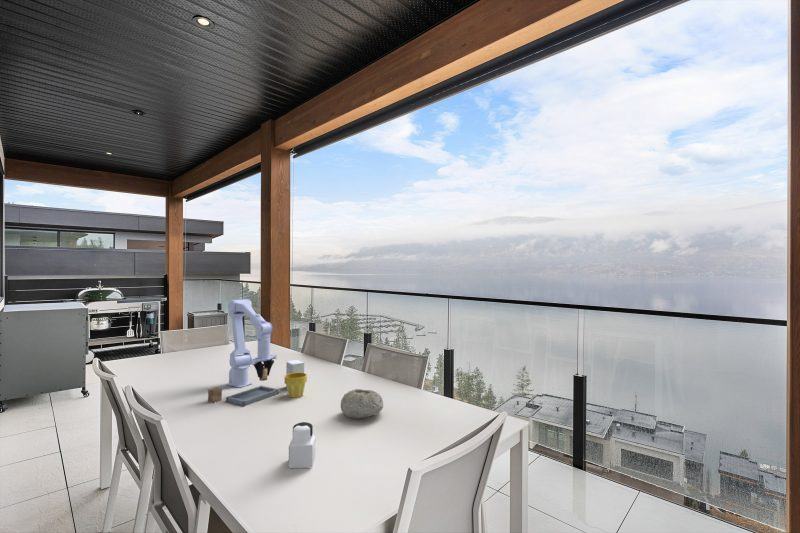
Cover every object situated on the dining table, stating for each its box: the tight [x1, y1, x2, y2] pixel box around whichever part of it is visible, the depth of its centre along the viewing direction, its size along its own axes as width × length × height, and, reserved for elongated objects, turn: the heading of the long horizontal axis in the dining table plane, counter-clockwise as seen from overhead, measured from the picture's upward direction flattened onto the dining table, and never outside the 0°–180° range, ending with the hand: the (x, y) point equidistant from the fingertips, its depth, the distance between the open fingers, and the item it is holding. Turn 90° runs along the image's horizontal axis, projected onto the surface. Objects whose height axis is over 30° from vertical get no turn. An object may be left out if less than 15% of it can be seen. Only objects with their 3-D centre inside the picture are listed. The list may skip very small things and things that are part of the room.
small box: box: [285, 359, 305, 388], centre depth 196 cm, size 8×6×13 cm
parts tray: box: [225, 385, 280, 407], centre depth 180 cm, size 12×20×2 cm, turn 151°
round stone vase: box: [340, 388, 384, 419], centre depth 160 cm, size 18×18×10 cm
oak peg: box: [258, 367, 268, 382], centre depth 186 cm, size 4×4×6 cm
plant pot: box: [284, 372, 308, 399], centre depth 184 cm, size 10×10×10 cm
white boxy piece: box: [288, 421, 317, 469], centre depth 121 cm, size 7×7×12 cm
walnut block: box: [207, 386, 223, 404], centre depth 175 cm, size 4×4×6 cm
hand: (263, 376), depth 186 cm, fingers closed on oak peg, 4 cm apart
